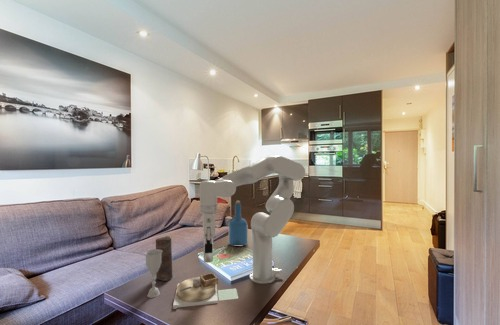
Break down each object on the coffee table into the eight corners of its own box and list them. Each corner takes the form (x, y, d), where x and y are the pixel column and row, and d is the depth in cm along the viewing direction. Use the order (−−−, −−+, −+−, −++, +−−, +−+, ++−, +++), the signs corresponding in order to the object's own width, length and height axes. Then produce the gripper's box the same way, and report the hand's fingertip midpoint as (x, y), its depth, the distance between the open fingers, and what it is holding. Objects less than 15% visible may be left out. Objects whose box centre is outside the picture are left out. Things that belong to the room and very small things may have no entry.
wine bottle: (251, 243, 166) (251, 200, 167) (240, 248, 155) (240, 203, 155) (235, 240, 174) (235, 199, 174) (224, 245, 162) (224, 201, 163)
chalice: (165, 289, 105) (164, 249, 105) (159, 298, 98) (159, 255, 98) (148, 290, 104) (148, 249, 105) (141, 299, 98) (141, 255, 98)
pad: (236, 289, 105) (236, 288, 105) (238, 299, 97) (238, 298, 97) (217, 291, 103) (217, 290, 103) (218, 301, 95) (218, 300, 95)
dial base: (215, 283, 110) (215, 279, 110) (217, 304, 94) (217, 300, 94) (178, 286, 107) (178, 283, 107) (173, 309, 91) (173, 305, 91)
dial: (182, 306, 90) (182, 292, 90) (172, 287, 103) (172, 275, 103) (222, 293, 98) (222, 281, 98) (208, 277, 112) (208, 267, 112)
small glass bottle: (212, 258, 106) (212, 231, 106) (213, 262, 102) (213, 234, 102) (203, 259, 105) (203, 232, 105) (203, 262, 101) (203, 234, 101)
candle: (154, 283, 111) (154, 240, 111) (156, 276, 118) (156, 235, 118) (172, 281, 113) (172, 238, 113) (172, 274, 120) (172, 234, 120)
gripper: (218, 212, 96) (218, 257, 96) (216, 205, 113) (216, 244, 112) (199, 212, 95) (199, 258, 95) (200, 205, 111) (200, 245, 111)
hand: (208, 250), depth 103 cm, fingers closed on small glass bottle, 4 cm apart
